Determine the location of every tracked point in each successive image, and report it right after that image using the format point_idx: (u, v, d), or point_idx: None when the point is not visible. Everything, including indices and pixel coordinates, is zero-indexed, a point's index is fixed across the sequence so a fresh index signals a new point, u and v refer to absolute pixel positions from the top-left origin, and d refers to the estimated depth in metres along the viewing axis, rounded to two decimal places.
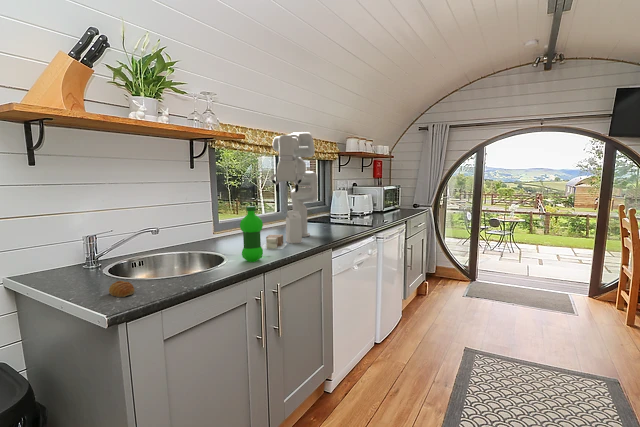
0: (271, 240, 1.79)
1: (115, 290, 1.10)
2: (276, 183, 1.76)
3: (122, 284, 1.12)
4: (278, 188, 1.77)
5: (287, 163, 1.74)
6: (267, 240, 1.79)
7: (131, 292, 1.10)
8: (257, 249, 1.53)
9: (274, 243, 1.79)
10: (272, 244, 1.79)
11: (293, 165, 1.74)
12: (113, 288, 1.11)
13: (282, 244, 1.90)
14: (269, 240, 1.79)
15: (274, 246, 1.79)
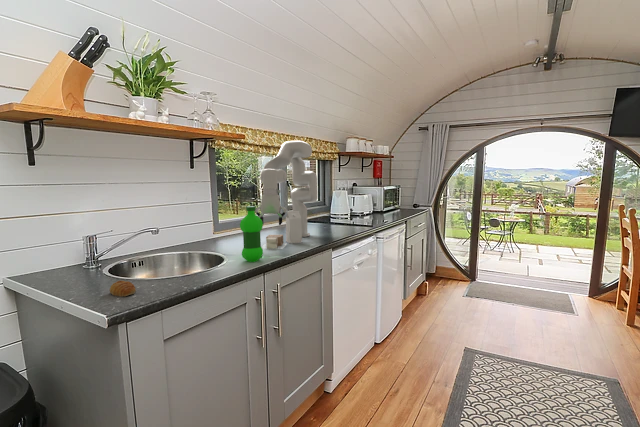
0: (271, 240, 1.79)
1: (116, 290, 1.10)
2: (260, 216, 1.79)
3: (123, 284, 1.13)
4: (262, 220, 1.80)
5: (271, 196, 1.77)
6: (267, 240, 1.79)
7: (132, 292, 1.11)
8: (257, 249, 1.53)
9: (274, 243, 1.79)
10: (272, 244, 1.79)
11: (277, 198, 1.77)
12: (114, 288, 1.11)
13: (282, 244, 1.90)
14: (269, 240, 1.79)
15: (274, 246, 1.79)
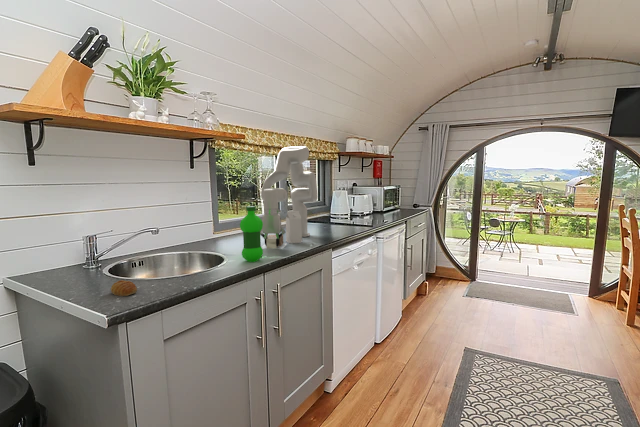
0: (271, 240, 1.79)
1: (117, 289, 1.11)
2: (265, 237, 1.80)
3: (124, 283, 1.13)
4: None
5: (271, 216, 1.78)
6: (267, 240, 1.79)
7: (134, 291, 1.11)
8: (257, 249, 1.53)
9: (274, 243, 1.79)
10: (272, 244, 1.79)
11: (277, 218, 1.78)
12: (115, 287, 1.11)
13: (282, 244, 1.90)
14: (269, 240, 1.79)
15: (274, 246, 1.79)
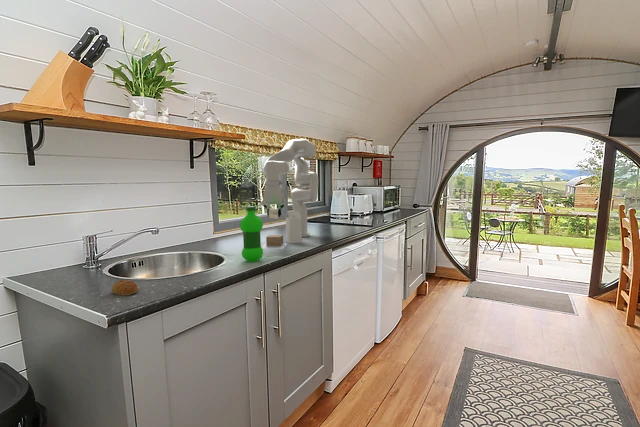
0: (273, 210, 1.85)
1: (119, 289, 1.11)
2: (267, 208, 1.87)
3: (125, 283, 1.13)
4: None
5: (274, 187, 1.84)
6: (269, 210, 1.85)
7: (135, 290, 1.12)
8: (257, 249, 1.53)
9: (276, 213, 1.85)
10: (274, 214, 1.86)
11: (279, 189, 1.84)
12: (117, 287, 1.12)
13: (282, 244, 1.90)
14: (271, 210, 1.85)
15: (276, 216, 1.86)
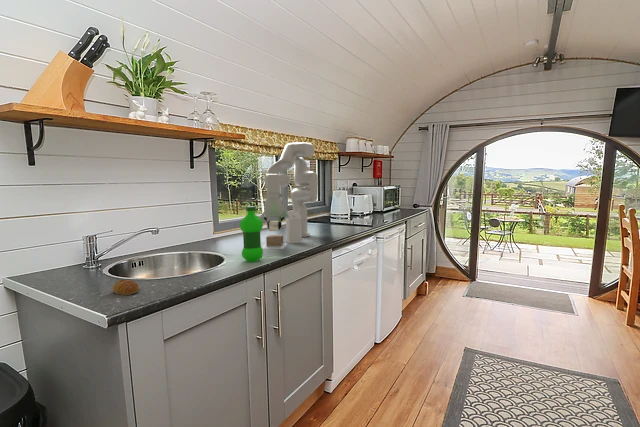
0: (274, 222, 1.86)
1: (120, 288, 1.11)
2: (267, 220, 1.87)
3: (127, 282, 1.14)
4: None
5: (274, 200, 1.85)
6: (269, 223, 1.86)
7: (137, 290, 1.12)
8: (257, 249, 1.53)
9: (276, 226, 1.86)
10: (274, 227, 1.86)
11: (280, 202, 1.85)
12: (118, 287, 1.12)
13: (282, 244, 1.90)
14: (271, 223, 1.86)
15: (276, 229, 1.86)
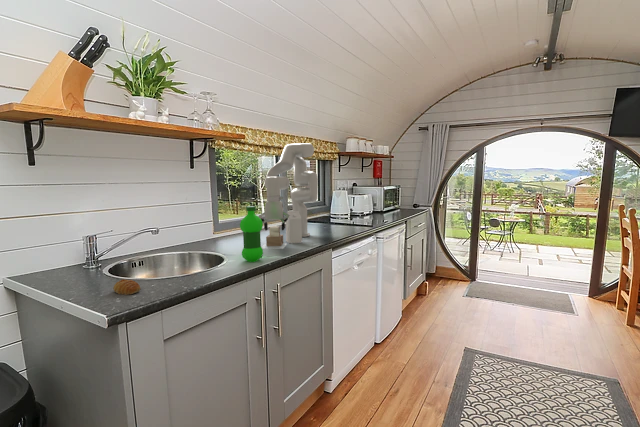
0: (274, 228, 1.86)
1: (121, 288, 1.12)
2: (264, 221, 1.88)
3: (127, 282, 1.14)
4: (266, 226, 1.88)
5: (274, 203, 1.85)
6: (270, 228, 1.87)
7: (138, 289, 1.13)
8: (257, 249, 1.53)
9: (277, 231, 1.87)
10: (275, 232, 1.87)
11: (280, 205, 1.85)
12: (119, 286, 1.13)
13: (282, 244, 1.90)
14: (272, 228, 1.87)
15: (277, 234, 1.87)
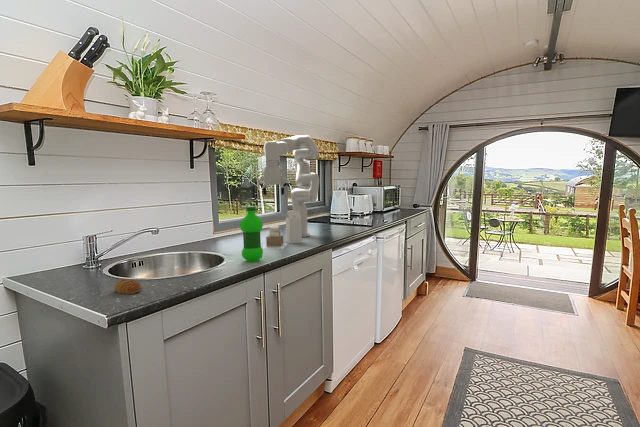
0: (274, 228, 1.86)
1: (122, 288, 1.12)
2: (263, 186, 1.89)
3: (128, 282, 1.15)
4: (265, 191, 1.89)
5: (273, 168, 1.86)
6: (270, 228, 1.87)
7: (139, 289, 1.13)
8: (257, 249, 1.53)
9: (277, 231, 1.87)
10: (275, 232, 1.87)
11: (279, 169, 1.86)
12: (120, 286, 1.13)
13: (282, 244, 1.90)
14: (272, 228, 1.87)
15: (277, 234, 1.87)
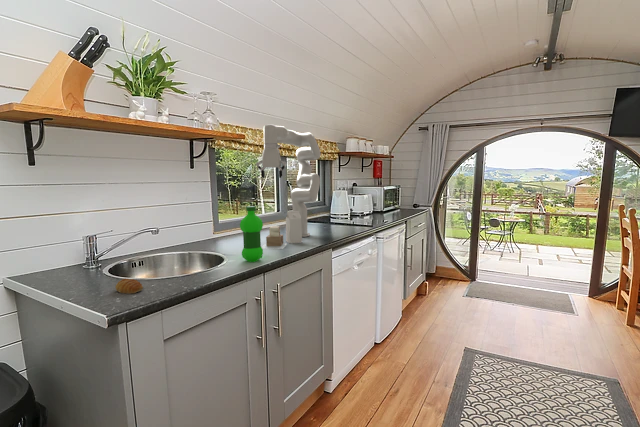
0: (274, 228, 1.86)
1: (124, 287, 1.13)
2: (261, 169, 1.92)
3: (130, 281, 1.15)
4: (263, 174, 1.92)
5: (271, 150, 1.89)
6: (270, 228, 1.87)
7: (140, 288, 1.14)
8: (257, 249, 1.53)
9: (277, 231, 1.87)
10: (275, 232, 1.87)
11: (277, 152, 1.89)
12: (121, 285, 1.13)
13: (282, 244, 1.90)
14: (272, 228, 1.87)
15: (277, 234, 1.87)
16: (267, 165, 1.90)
